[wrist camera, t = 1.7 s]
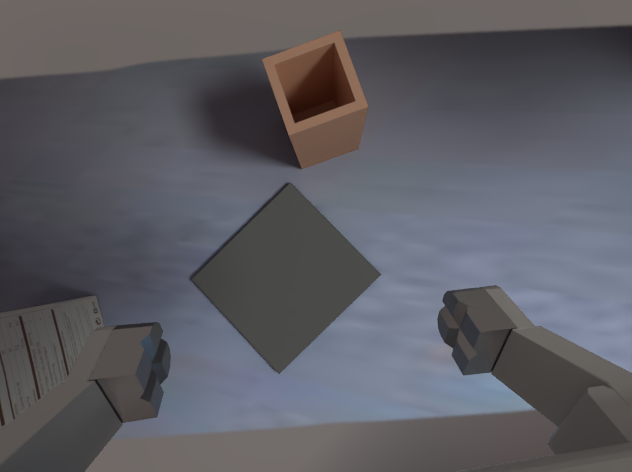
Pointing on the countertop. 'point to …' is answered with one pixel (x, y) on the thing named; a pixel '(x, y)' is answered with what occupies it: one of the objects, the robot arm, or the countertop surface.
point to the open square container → (318, 98)
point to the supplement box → (41, 350)
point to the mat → (285, 277)
